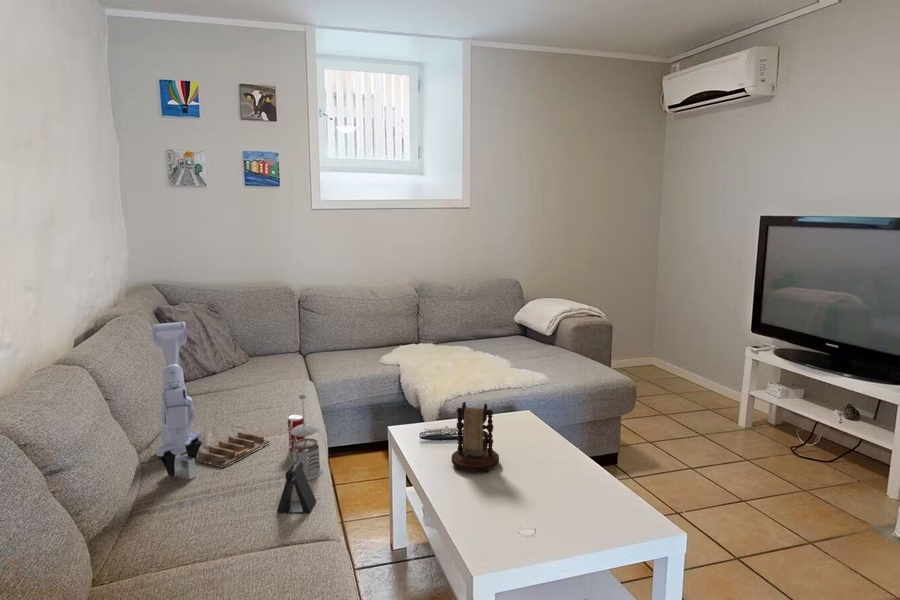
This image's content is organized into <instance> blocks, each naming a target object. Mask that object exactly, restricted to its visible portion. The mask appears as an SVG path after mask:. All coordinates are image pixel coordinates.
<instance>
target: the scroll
mask: <svg viewBox="0 0 900 600" xmlns="http://www.w3.org/2000/svg"><path fill="white" fill-rule="evenodd" d="M456 415H457V422H456V428H457V430H458V431H457V438H456V441H457V445H458V446H457V450H455V451H454V452H453V453H452V454H451V463H452V465H454V466H455V470H459V469H462V470H466V471H486V473H489V472H490V469H492V468H495V467H496V466H497V465H499V463H500V455H499V453H497V452H496V450H493V449H494V448H493V444H494V439H493V433H492V432H493V431H494V424H493V422H494V421H493V417H494V416H493V415H494V411H493V409H488V404H487V403H486V402H485V403H484V405H483V407H470V406H468V407H467V403H466V401H463V402H462V404H461V407H458V408H457V409H456ZM487 418H488V419H487ZM486 422H487V424H486V425H485V423H486ZM462 430H463V431H462ZM484 430H487V431H485V433H484Z"/></svg>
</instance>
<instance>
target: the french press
mask: <svg viewBox="0 0 900 600" xmlns="http://www.w3.org/2000/svg"><path fill="white" fill-rule="evenodd" d="M306 398H307V396H306V394H305V393H301V394H300V395H299V399H300V400H301V401H302V404H304V399H306ZM302 413H303V414H302V416H303V419H304V420H305V411H304V406H302ZM318 431H319V427H318V426H316V425H313V424H311V423H310V424H309V423H304V424H302V425H298V426H296V427H295V428H294V429H292V430H291V434H292V435H294V436H298V437H303V436H305V439H301V440H297V441H296V442H295V440H294V439H293V440H294V443H293V446H294V447H293V454H292V459H291V455H290V446H289V445H288V446H289V447H288V454H287V455H288V459H289V461H290V462H291V463H292V464H293V463H294V462H295V461H296V463H295V465H294V468H295V466H296V465H297V464H298V462H299V461H300V462H302V463H303V471H304V474H305V476H306V478H307V481H311V480H315V479H317V478H320V477H322V475H323V474H324V469H323V468H322V467H321V464H320V448H319V447H320V446H319V445H318V440H317V439H315V438H309V437H308V436H312V435H314V434H316V433H317V432H318ZM307 437H308V438H307ZM293 440H292V441H293ZM292 441H291V443H292ZM291 443H290V445H291ZM294 450H305V452H294ZM306 450H307V451H306Z"/></svg>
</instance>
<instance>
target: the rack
mask: <svg viewBox="0 0 900 600" xmlns="http://www.w3.org/2000/svg"><path fill="white" fill-rule="evenodd" d="M269 442H270V440H265V437H264V436H263V435H258V434H252V433H249V432H247V433H246V432H242V431H238V432H237V435H236V436H230V435H229V436H228V439H227V440H225V441H223V440H219V441H218V444H217V445H215V446H213V445H209V446H207V448H208V449H207V450H205V451H203V450H198V453H197V458H196V462H198V461H201V462H200V463H202V462H206V463H211V464H215V465H219V466H223V467H225V468H227V467H228V466H227V465H229V464H230V463H232V462H234V461H236V460H238V459H240V458H242V457H244V456H245V455H247V454H249V453H251V452H253V451H254V450H256V449H258V448H260V447H261V446H263V445H265V444H267V443H269ZM270 443H271V442H270ZM244 458H245V457H244ZM242 459H243V458H242ZM240 460H241V459H240ZM206 463H205V464H206ZM211 464H210V465H211ZM215 465H214V466H215ZM219 466H218V467H219ZM226 466H227V467H226ZM229 466H230V465H229ZM223 467H222V468H223Z"/></svg>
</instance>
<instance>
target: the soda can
mask: <svg viewBox="0 0 900 600" xmlns="http://www.w3.org/2000/svg"><path fill="white" fill-rule="evenodd" d="M302 424H305V418H304V419H303V414H293V415H290V416H288V420H287V431H288V446H290V449H289V453H291V454H292V453H293V447H294V446H293V443H294V440H295V442H296V441H297V440H301V439H305V438H306V436H303V437H298V436H294V435H292V434H291V430H292V429H294V428H295V427H296V426H298V425H302ZM293 439H294V440H293ZM292 440H293V441H292ZM291 441H292V443H291ZM290 443H291V445H290ZM294 452H306V450H294Z"/></svg>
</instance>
